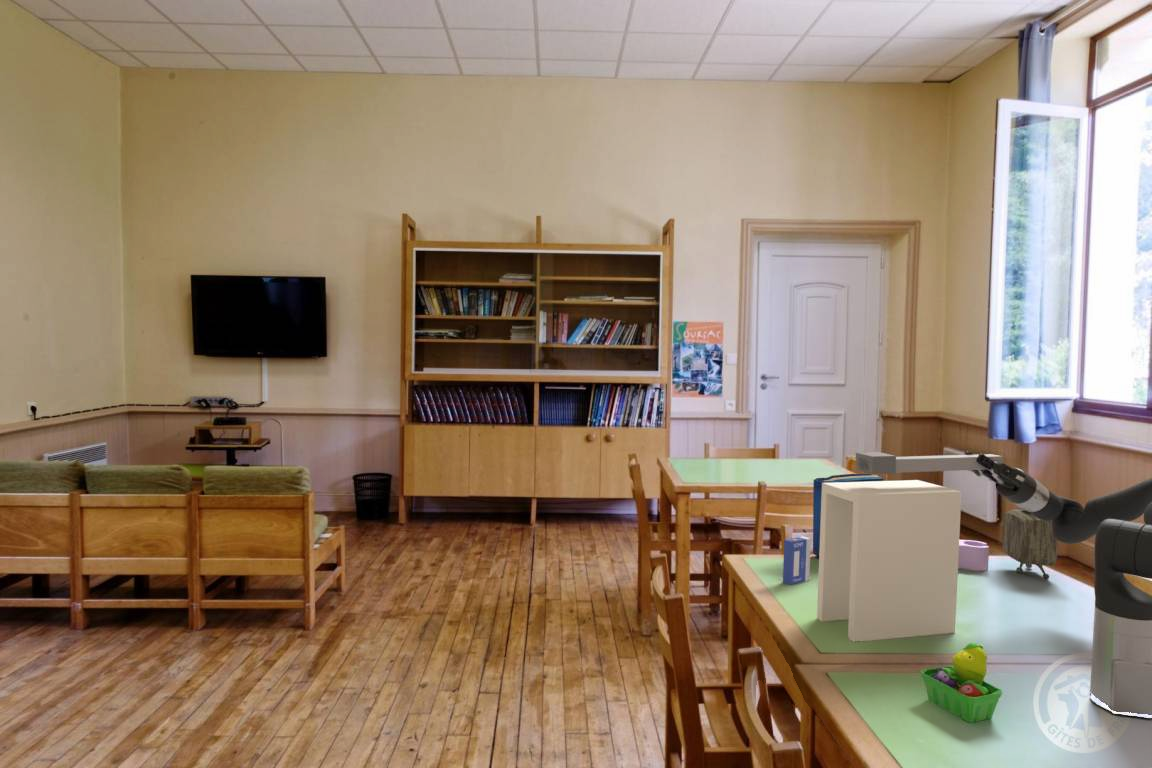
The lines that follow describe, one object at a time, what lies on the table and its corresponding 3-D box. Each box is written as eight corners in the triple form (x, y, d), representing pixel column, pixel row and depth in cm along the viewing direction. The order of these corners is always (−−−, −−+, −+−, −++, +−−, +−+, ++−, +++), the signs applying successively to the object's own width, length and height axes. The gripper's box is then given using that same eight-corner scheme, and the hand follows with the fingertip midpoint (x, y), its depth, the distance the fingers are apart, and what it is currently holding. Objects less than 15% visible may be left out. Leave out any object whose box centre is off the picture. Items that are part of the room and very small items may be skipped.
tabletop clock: (1056, 582, 204) (1060, 492, 202) (1020, 580, 205) (1025, 491, 204) (1032, 567, 218) (1036, 483, 217) (999, 564, 219) (1003, 481, 218)
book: (821, 562, 218) (824, 478, 217) (807, 555, 225) (810, 474, 224) (883, 558, 224) (886, 476, 223) (868, 551, 231) (871, 472, 230)
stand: (912, 610, 179) (917, 480, 177) (954, 632, 165) (961, 491, 164) (816, 618, 172) (821, 482, 171) (853, 641, 159) (859, 494, 157)
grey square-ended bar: (986, 465, 177) (987, 449, 177) (1006, 469, 171) (1007, 452, 171) (855, 470, 168) (855, 452, 168) (872, 474, 162) (872, 456, 162)
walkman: (790, 585, 197) (792, 540, 196) (782, 582, 199) (784, 538, 198) (810, 580, 201) (811, 537, 200) (802, 577, 203) (803, 534, 203)
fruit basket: (916, 697, 134) (919, 636, 133) (953, 690, 137) (956, 631, 137) (970, 728, 123) (973, 662, 123) (1008, 720, 126) (1012, 655, 126)
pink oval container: (983, 562, 222) (984, 540, 222) (990, 574, 211) (991, 550, 210) (911, 554, 229) (912, 532, 229) (913, 565, 218) (914, 542, 217)
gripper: (1040, 510, 169) (988, 475, 165) (992, 498, 183) (942, 465, 179) (1055, 481, 170) (1003, 446, 166) (1005, 471, 184) (956, 438, 180)
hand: (972, 456), depth 172 cm, fingers closed on grey square-ended bar, 3 cm apart
